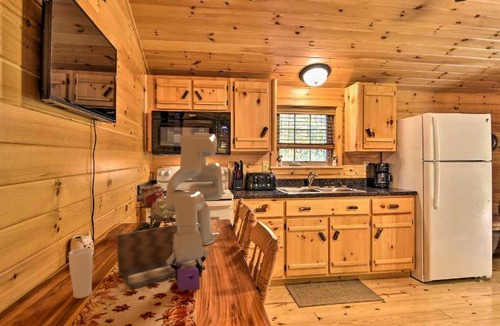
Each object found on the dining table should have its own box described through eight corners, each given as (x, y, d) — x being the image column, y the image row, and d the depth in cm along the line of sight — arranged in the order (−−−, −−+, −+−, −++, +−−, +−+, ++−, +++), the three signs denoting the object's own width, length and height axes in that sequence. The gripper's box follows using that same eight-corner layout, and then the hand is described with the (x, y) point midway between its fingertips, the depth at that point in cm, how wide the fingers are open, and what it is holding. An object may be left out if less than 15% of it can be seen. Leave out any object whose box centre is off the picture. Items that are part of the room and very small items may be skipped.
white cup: (77, 291, 101) (75, 248, 101) (97, 290, 102) (95, 247, 102) (66, 301, 95) (64, 254, 94) (88, 299, 95) (86, 253, 95)
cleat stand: (184, 255, 134) (182, 223, 134) (205, 268, 117) (203, 231, 117) (118, 271, 118) (116, 234, 118) (131, 289, 101) (129, 246, 101)
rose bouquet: (158, 240, 163) (156, 186, 162) (125, 235, 178) (123, 185, 178) (191, 229, 184) (189, 182, 184) (159, 225, 200) (157, 181, 199)
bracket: (199, 288, 100) (198, 268, 100) (179, 292, 98) (178, 271, 98) (195, 275, 111) (194, 257, 111) (176, 278, 109) (175, 260, 109)
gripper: (204, 223, 113) (206, 269, 113) (159, 231, 103) (161, 282, 103) (213, 226, 107) (215, 275, 107) (166, 235, 97) (169, 289, 97)
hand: (189, 278), depth 105 cm, fingers closed on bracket, 6 cm apart
